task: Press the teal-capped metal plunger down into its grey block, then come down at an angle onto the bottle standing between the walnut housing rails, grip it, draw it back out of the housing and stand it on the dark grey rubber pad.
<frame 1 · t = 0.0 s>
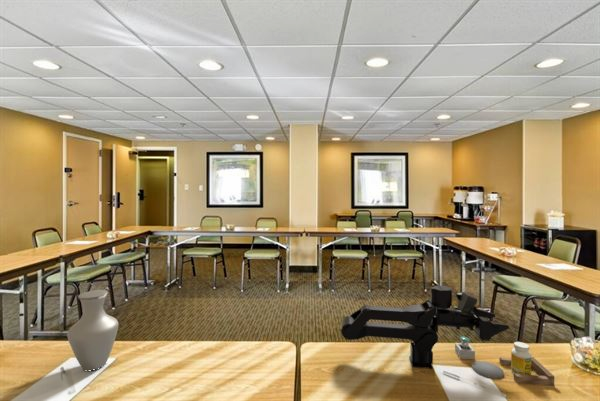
hand: (501, 320, 101), 17 cm above the table, tool horizontal, fingers open, 9 cm apart
supplement bottle: (520, 374, 100), on the table
housing rails: (520, 373, 100), on the table
plunger: (464, 343, 111), point 4 cm above the table, slide at 0.0 cm
vase: (94, 366, 104), on the table
rubber pad: (487, 370, 102), on the table
plunger block: (464, 355, 111), on the table
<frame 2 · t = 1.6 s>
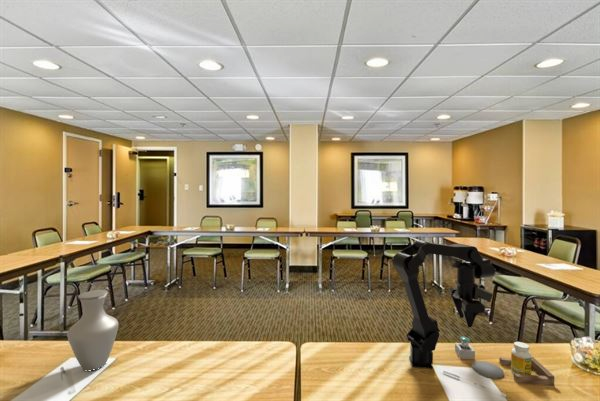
hand: (465, 322, 111), 12 cm above the table, tool pointing down, fingers open, 8 cm apart
nothing on the table moved.
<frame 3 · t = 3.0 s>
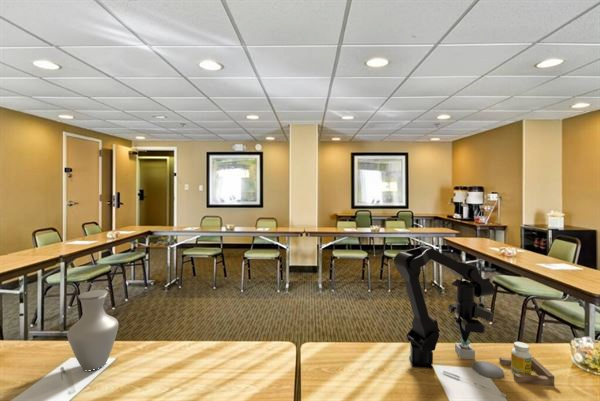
hand: (464, 340, 111), 5 cm above the table, tool pointing down, fingers closed, pressing on plunger
plunger: (464, 345, 111), point 4 cm above the table, slide at 0.8 cm, touching gripper
everything else where it was.
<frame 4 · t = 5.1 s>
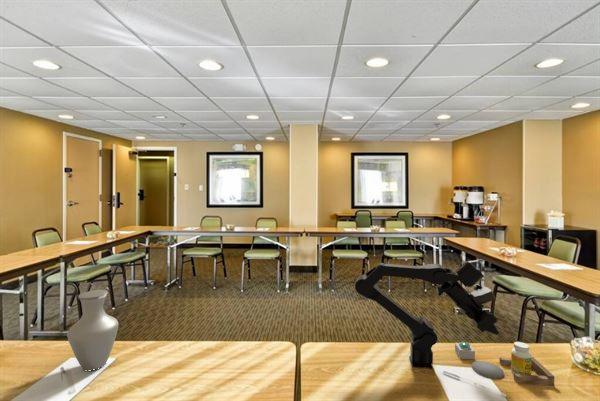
hand: (494, 330, 101), 14 cm above the table, tool tilted 45°, fingers open, 4 cm apart
plunger: (464, 348, 111), point 2 cm above the table, slide at 2.0 cm
everything else where it was.
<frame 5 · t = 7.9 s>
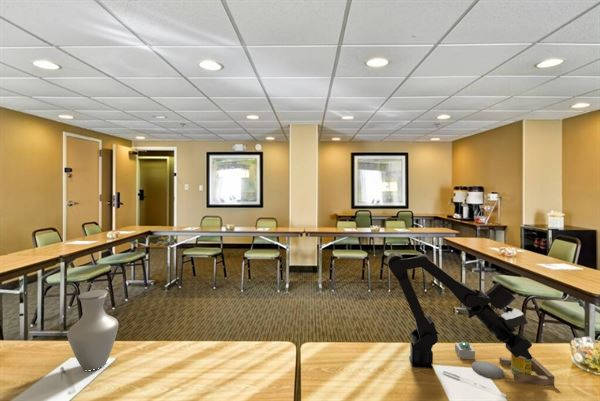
hand: (526, 353, 99), 7 cm above the table, tool tilted 45°, fingers closed on supplement bottle, 5 cm apart
supplement bottle: (520, 374, 100), on the table, touching gripper
everything else where it was.
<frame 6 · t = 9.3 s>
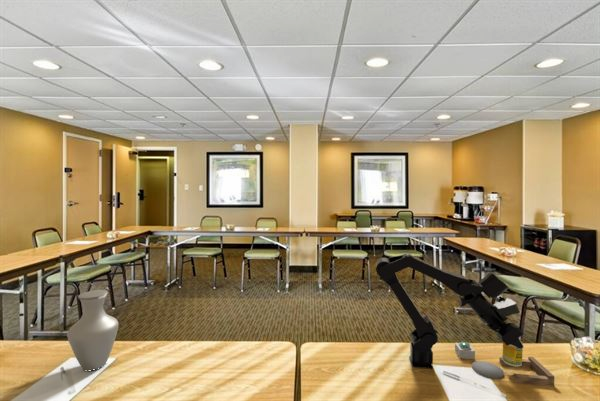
hand: (517, 343, 100), 10 cm above the table, tool tilted 45°, fingers closed on supplement bottle, 5 cm apart
supplement bottle: (511, 363, 100), point 3 cm above the table, touching gripper
everything else where it was.
when the fingers open (8 cm above the table, at t = 10.9 s): supplement bottle stays where it is, resting on rubber pad.
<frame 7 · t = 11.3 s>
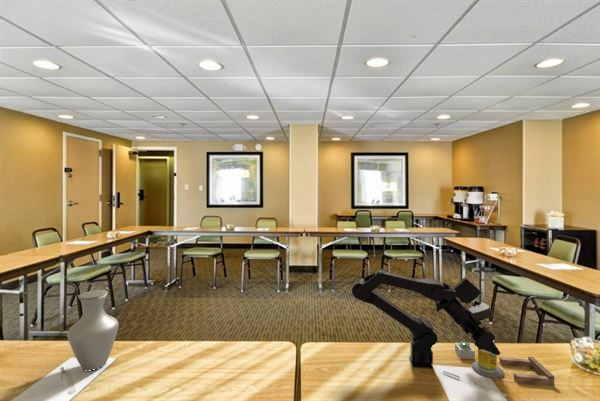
hand: (492, 346, 101), 8 cm above the table, tool tilted 45°, fingers open, 9 cm apart
supplement bottle: (486, 369, 102), resting on rubber pad
everything else where it was.
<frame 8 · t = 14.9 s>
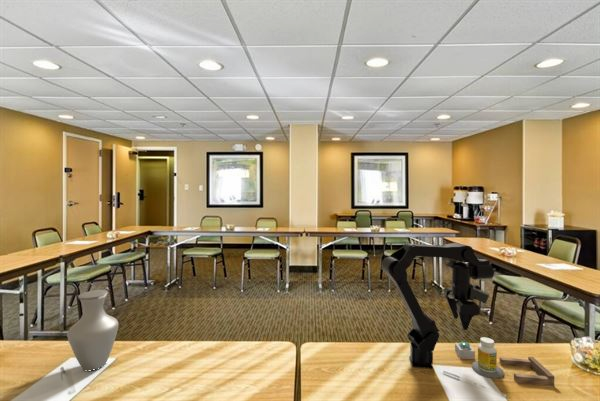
hand: (460, 323, 107), 13 cm above the table, tool pointing down, fingers open, 9 cm apart
nothing on the table moved.
at the end: supplement bottle inside the target area (0.2 cm from its centre), resting on rubber pad; supplement bottle tilted 0°; plunger slide at 2.0 cm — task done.
